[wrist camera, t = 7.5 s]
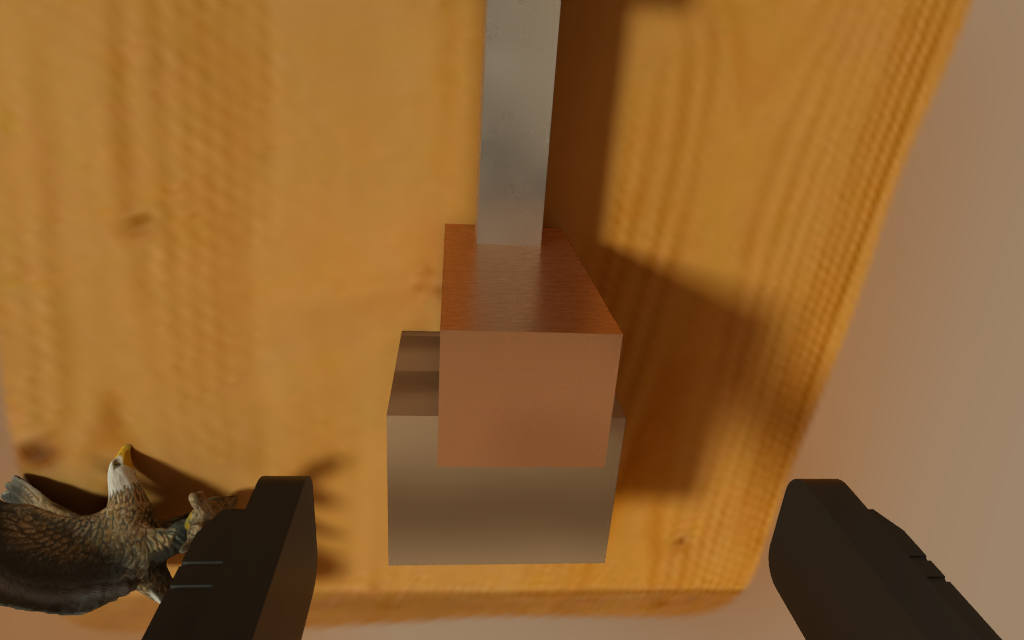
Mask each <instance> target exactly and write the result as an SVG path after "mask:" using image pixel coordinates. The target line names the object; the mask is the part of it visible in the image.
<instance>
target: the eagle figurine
mask: <svg viewBox="0 0 1024 640" xmlns="http://www.w3.org/2000/svg"><path fill="white" fill-rule="evenodd" d="M131 447H132V446H131V445H130V444H125V445H124V446H123V447H122V448H121V449H120V450H119V452H118V454H117V456H116V457H115V458H114V459H113V460H112V461H111V463H110V465H109V469H108V504H107V506H106V508H104V509H103V510H101V511H100V512H97V513H95V514H90V515H84V516H82V515H80V514H77V513H75V512H73V511H71V510H69V509H67V508H65V507H63V506H61V505H60V504H57V503H54V502H52V501H51V500H50V499H49V498H48V497H46V496H45V495H44V494H42V493H41V492H40V491H39V490H37V489H36V488H34V487H33V486H32V485H31V484H30V483H28V482H27V481H26V480H24V479H22V478H20V477H19V476H16V475H15V476H13V477H12V481H13V482H7V483H6V484H5V487H6V489H7V490H8V491H4V492H3V493H2V494H1V498H2V500H4V501H5V502H3V501H1V500H0V606H7V607H11V608H15V609H20V610H26V611H39V612H45V613H48V614H59V615H82V614H85V613H88V612H90V611H93V610H95V609H97V608H99V607H101V606H103V605H105V604H107V603H109V602H112V601H116V600H117V599H118V598H119V597H122V596H126V595H127V594H129V593H130V592H132V591H135V590H137V591H138V592H140V593H142V594H144V595H145V596H147V597H148V598H150V599H152V600H154V601H156V602H158V603H159V604H160V603H161V601H162V599H163V597H164V595H165V593H166V591H169V589H170V583H171V582H172V580H173V578H172V577H171V574H170V572H169V570H168V568H167V565H166V560H167V559H168V558H170V557H172V556H174V555H175V554H176V553H186V552H187V550H188V548H189V547H190V545H191V543H192V541H193V539H194V537H195V535H196V533H197V532H198V531H199V530H200V529H201V528H203V527H204V526H205V525H206V524H207V523H208V522H209V521H210V520H211V519H213V518H214V517H215V516H216V515H217V514H218V513H219V512H220V511H221V510H222V509H232V508H233V507H234V506H235V504H236V501H237V500H236V498H235V497H230V498H229V497H221V496H213V497H211V498H207V497H206V496H205V494H204V492H203V491H202V490H200V491H198V492H193V493H190V495H189V502H190V504H191V506H192V507H193V508H194V509H193V511H191V512H189V513H188V514H185V515H183V516H177V517H174V518H172V519H169V520H160V519H158V518H156V516H155V513H154V511H153V508H152V505H151V503H150V501H149V499H148V497H147V495H146V494H145V492H144V491H143V489H142V488H141V486H140V483H139V481H138V479H137V478H136V475H135V470H134V467H133V464H132V462H131Z"/></svg>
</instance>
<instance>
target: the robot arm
mask: <svg viewBox="0 0 1024 640" xmlns="http://www.w3.org/2000/svg"><path fill="white" fill-rule="evenodd" d="M769 568H770V573H771V577H772V580H773V583H774V585H775V587H776V589H777V591H778V592H779V594H780V596H781V598H782V599H783V601H784V603H785V604H786V606H787V608H788V610H789V611H790V613H791V615H792V617H793V618H794V620H795V622H796V624H797V625H798V627H799V629H800V631H801V632H802V634H803V636H804V637H805V639H806V640H1002V639H1001V638H1000V637H999V636H998V635H997V634H996V633H995V632H994V630H993V629H992V628H991V627H990V626H989V625H988V624H987V623H986V622H985V621H984V619H983V618H982V617H981V616H980V615H979V614H978V613H977V611H976V610H975V609H974V608H973V607H972V606H971V605H970V604H969V603H968V601H967V600H966V599H965V598H964V597H963V596H962V595H961V594H960V593H959V591H958V590H957V589H956V588H955V587H954V586H953V585H952V584H951V583H950V582H946V581H945V576H944V575H943V574H942V573H941V571H940V570H939V569H938V568H937V567H936V566H935V565H934V564H933V563H932V562H931V561H927V559H926V555H925V554H924V553H923V551H922V550H921V549H920V548H919V547H918V546H917V545H916V544H915V543H914V541H913V540H912V539H911V538H910V537H909V536H908V535H907V534H906V533H905V531H904V530H902V529H901V528H899V527H898V526H896V525H895V524H893V523H892V522H890V521H889V520H888V519H886V518H885V517H883V516H882V515H880V514H879V513H878V512H876V511H875V510H873V509H870V510H869V509H867V508H866V506H865V505H864V504H863V503H862V502H861V501H860V499H859V498H858V497H857V496H856V495H855V494H854V493H853V492H852V490H851V489H850V488H849V487H848V486H847V485H846V484H845V483H844V482H843V481H841V480H839V479H794V480H792V481H791V482H790V483H789V484H788V486H787V489H786V491H785V495H784V498H783V502H782V505H781V509H780V513H779V516H778V520H777V523H776V527H775V530H774V534H773V537H772V541H771V544H770V548H769ZM316 570H317V540H316V526H315V512H314V498H313V485H312V480H311V478H310V476H262V477H260V479H259V480H258V482H257V484H256V487H255V489H254V491H253V493H252V496H251V498H250V500H249V503H248V505H247V507H246V509H222V510H221V511H220V512H219V513H218V514H217V515H216V516H215V517H214V518H213V519H211V520H210V521H209V522H208V523H207V524H206V525H205V526H204V527H203V528H201V529H200V530H199V531H198V532H197V533H196V535H195V537H194V539H193V541H192V543H191V545H190V547H189V548H188V550H187V552H186V554H185V556H184V558H183V560H182V566H181V567H179V568H178V570H177V572H176V574H175V576H174V578H173V580H172V582H171V583H170V589H169V591H166V593H165V595H164V597H163V599H162V601H161V603H160V605H159V607H158V609H157V611H156V613H155V615H154V617H153V619H152V620H151V622H150V624H149V626H148V628H147V630H146V632H145V634H144V636H143V638H142V640H301V639H302V635H303V631H304V627H305V623H306V619H307V615H308V611H309V607H310V603H311V599H312V595H313V591H314V586H315V579H316Z"/></svg>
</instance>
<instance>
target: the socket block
mask: <svg viewBox="0 0 1024 640" xmlns="http://www.w3.org/2000/svg"><path fill="white" fill-rule="evenodd" d="M439 364H440V332H422V331H402V334H401V339H400V345H399V350H398V356H397V361H396V367H395V373H394V378H393V384H392V389H391V395H390V400H389V406H388V411H387V476H388V555H389V565H472V564H560V563H605V557H606V550H607V544H608V537H609V530H610V524H611V517H612V510H613V504H614V497H615V490H616V484H617V477H618V470H619V463H620V457H621V450H622V443H623V437H624V430H625V423H626V417H625V415H624V412H623V410H622V408H621V406H620V404H619V402H618V399H617V397H616V395H615V396H614V403H613V410H612V418H611V425H610V432H609V439H608V446H607V453H606V461H605V467H437V454H438V409H439Z"/></svg>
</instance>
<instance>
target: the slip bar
mask: <svg viewBox="0 0 1024 640" xmlns="http://www.w3.org/2000/svg"><path fill="white" fill-rule="evenodd" d="M560 7H561V0H484V21H483V45H482V69H481V93H480V117H479V141H478V165H477V189H476V213H475V225H463V224H445V239H444V261H443V282H442V303H441V325H440V364H439V409H438V454H437V467H605V461H606V453H607V446H608V439H609V432H610V425H611V418H612V410H613V403H614V396H615V389H616V382H617V375H618V367H619V360H620V353H621V346H622V339H623V333H622V332H621V330H620V328H619V327H618V325H617V323H616V321H615V320H614V318H613V316H612V315H611V313H610V311H609V309H608V308H607V306H606V304H605V303H604V301H603V299H602V297H601V296H600V294H599V292H598V291H597V289H596V287H595V285H594V284H593V282H592V280H591V279H590V277H589V275H588V273H587V272H586V270H585V268H584V267H583V265H582V263H581V261H580V260H579V258H578V256H577V255H576V253H575V251H574V249H573V248H572V246H571V244H570V243H569V241H568V239H567V237H566V236H565V234H564V232H563V231H562V229H561V228H542V226H543V214H544V202H545V189H546V177H547V165H548V153H549V141H550V129H551V116H552V104H553V92H554V80H555V68H556V55H557V43H558V31H559V19H560Z"/></svg>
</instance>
